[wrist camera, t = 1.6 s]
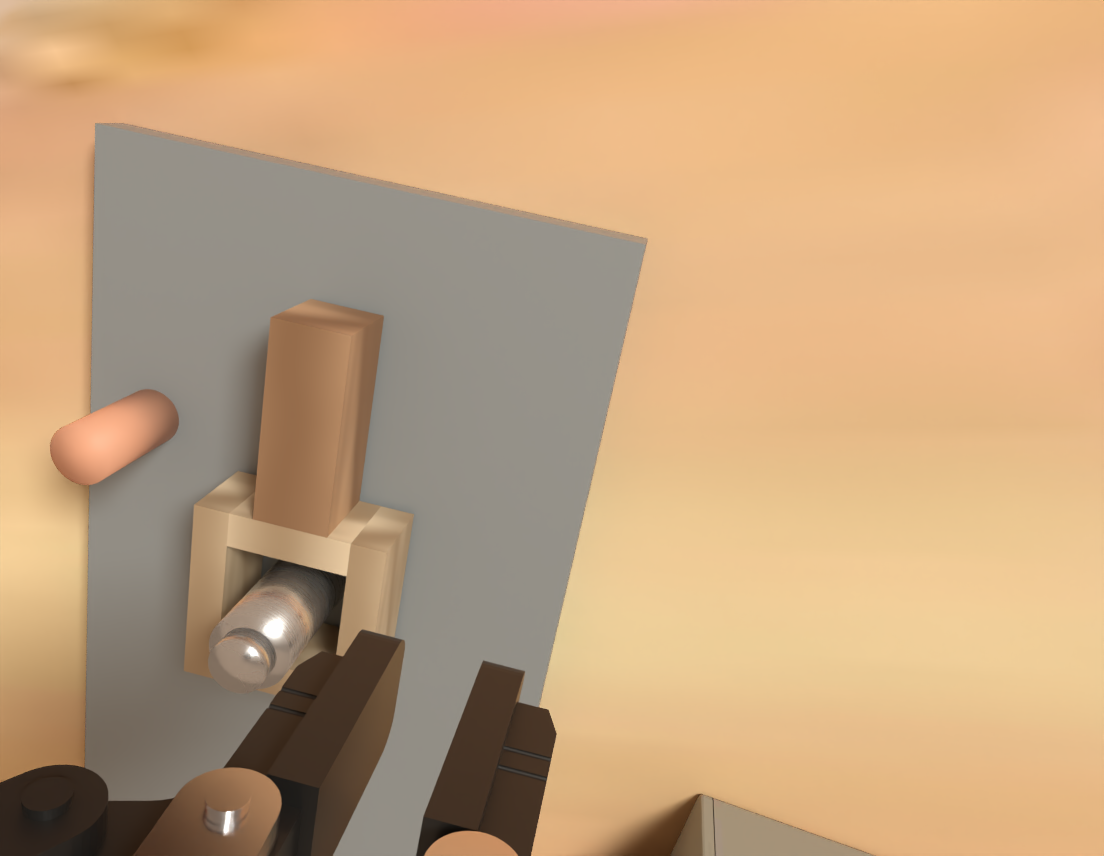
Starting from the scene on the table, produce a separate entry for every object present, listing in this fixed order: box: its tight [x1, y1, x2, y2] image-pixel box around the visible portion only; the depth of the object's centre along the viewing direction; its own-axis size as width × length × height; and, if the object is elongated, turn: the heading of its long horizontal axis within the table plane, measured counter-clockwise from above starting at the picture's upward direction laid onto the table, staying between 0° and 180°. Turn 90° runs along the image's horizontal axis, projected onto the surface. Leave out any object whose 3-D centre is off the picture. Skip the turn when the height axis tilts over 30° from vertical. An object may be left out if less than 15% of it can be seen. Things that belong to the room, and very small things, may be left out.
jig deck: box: [85, 123, 648, 856], centre depth 33 cm, size 18×28×2 cm, turn 169°
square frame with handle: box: [184, 299, 414, 695], centre depth 30 cm, size 6×13×3 cm, turn 169°
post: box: [208, 559, 347, 694], centre depth 29 cm, size 3×3×6 cm
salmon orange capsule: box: [50, 389, 179, 485], centre depth 29 cm, size 2×2×4 cm
